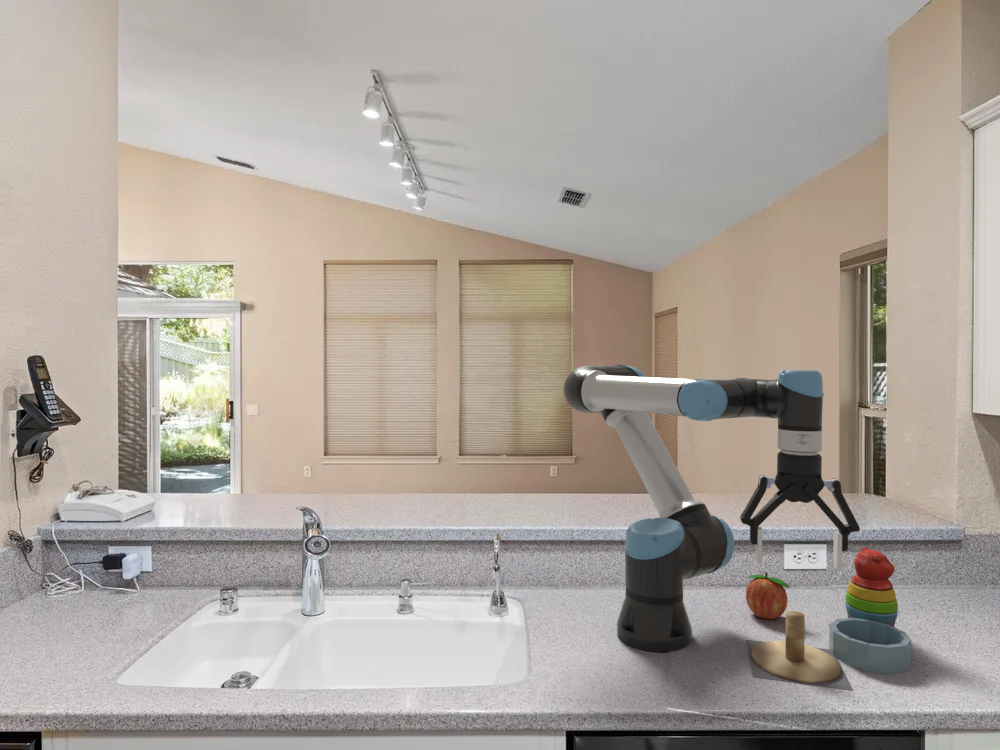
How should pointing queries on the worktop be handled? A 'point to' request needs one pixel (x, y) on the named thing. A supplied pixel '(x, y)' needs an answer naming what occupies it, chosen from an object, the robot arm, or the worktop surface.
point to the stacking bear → (872, 589)
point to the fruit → (766, 596)
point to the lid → (796, 655)
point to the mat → (760, 673)
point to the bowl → (870, 645)
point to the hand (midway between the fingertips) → (797, 564)
